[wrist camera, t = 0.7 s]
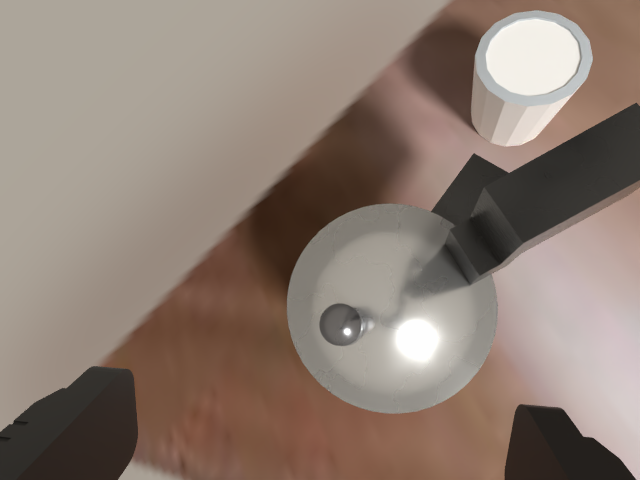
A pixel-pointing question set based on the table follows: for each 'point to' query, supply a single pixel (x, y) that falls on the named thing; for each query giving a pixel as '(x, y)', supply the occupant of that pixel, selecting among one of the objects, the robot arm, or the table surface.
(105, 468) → the robot arm
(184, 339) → the table surface
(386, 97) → the table surface
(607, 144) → the lid
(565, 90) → the white cylinder
